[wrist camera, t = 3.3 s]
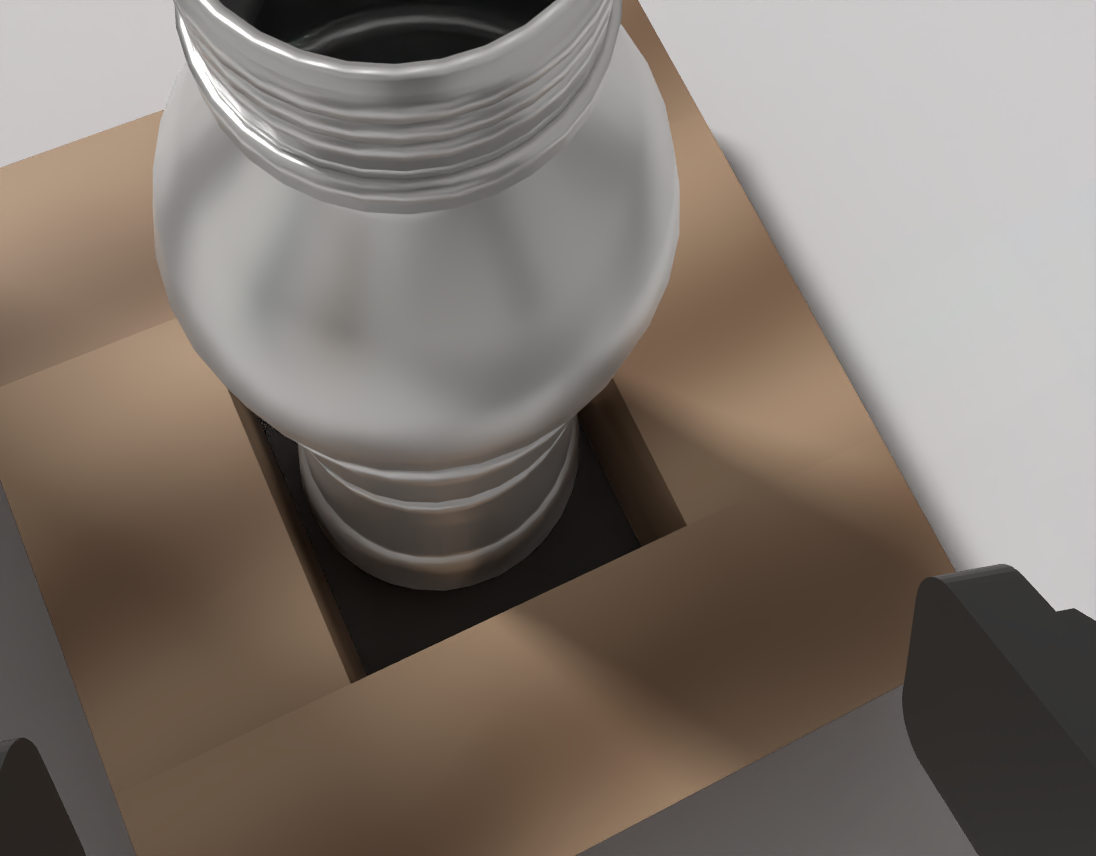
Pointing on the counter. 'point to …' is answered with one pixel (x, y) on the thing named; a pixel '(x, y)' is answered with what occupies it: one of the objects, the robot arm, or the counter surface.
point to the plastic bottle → (417, 252)
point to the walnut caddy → (489, 647)
